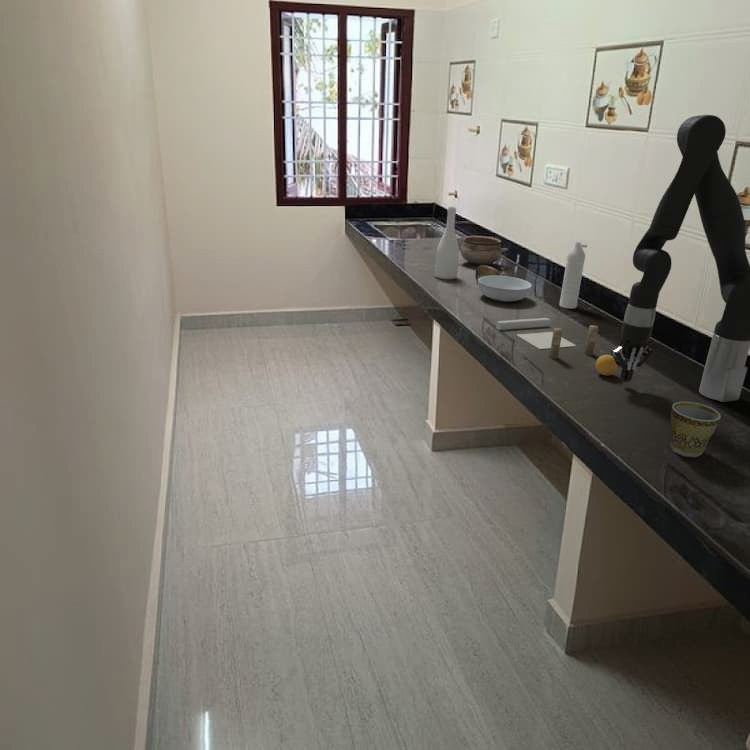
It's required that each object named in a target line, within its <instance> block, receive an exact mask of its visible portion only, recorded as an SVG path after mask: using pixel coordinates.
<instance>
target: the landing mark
mask: <svg viewBox="0 0 750 750" xmlns="http://www.w3.org/2000/svg"><path fill="white" fill-rule="evenodd" d="M516 336H517V337H518V338H520V339H522V340H523V341H524V342H527V343H528V344H530V345H532V346H533V347H535V348H536V349H538V350H548V349H549V350H550V349H551V343H552V337H553V331H545V332H531V333H522V334H521V333H520V334H519V333H518V334H516ZM570 347H577V345H576V344H575V343H573V342H571V341H569V340H567V339H565V338H564V337H561V343H560V349H561V348H570Z"/></svg>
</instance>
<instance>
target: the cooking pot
mask: <svg viewBox="0 0 750 750" xmlns="http://www.w3.org/2000/svg"><path fill="white" fill-rule="evenodd" d="M462 238H463V241H462V244H461V246H459V245H458V247H459V252H460V255H461V256H462V258H463V260H464V261H466V262H468V263H469V264H471V266H473V267H477V268H478V267H479V266H480V265H486V266H490V265H491V264H494V263H495V262H496V261H498V260H499V259H500V256H501V254H503V253H504V252H506V251H508V250H509V249H508V248H507V247H504V248H502V247H501V244H500V243H501V242H502V240H501V239H500V238H496V237H492V236H484V235H467V236H464V237H462Z"/></svg>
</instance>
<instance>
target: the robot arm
mask: <svg viewBox="0 0 750 750" xmlns="http://www.w3.org/2000/svg"><path fill="white" fill-rule="evenodd" d="M726 128H727V127H726V125H725V123H724V121H723V120H722V119H721V118H720V117H719V116H716V115H714V114H713V115H712V114H702V115H695V116H690V117H689V118H687V119H685V120H683V122H682V124H680V126H679V128H678V131H677V132H676V133H677V134H676V143H677V147H678V150H679V152H680V154H681V157H682V159H681V162H680V164H679V167H678V169H677V171H676V173H675V175H674V177H673V179H672V181H671V182H670V183H669V186H668V187H667V188H666V191H665V192H664V194H663V195H662V197H661V199H660V201H659V202H658V205H657V207H656V209H655V212H654V215H653V218H652V220H651V223H650V225H649V228H648V229H647V231H646V232H645V233H644V234H643V236H642V238H641V240H640V241H639V242H638V244H637V245H636V248H635V249H634V251H633V254H632V255H633V256H632V265H633V267H634V269H636V270H637V271H639V272H641V273H643V275H642V278H641V280H640V281H636V282H635V283H633V284H632V287H631V288H630V293H629V297H628V298H629V299H628V302H627V303H628V304H627V306H626V309H625V313H624V316H623V317H624V318H623V323H622V327H621V332H620V336H621V340H620V342H619V344H618V347H617V348H615V349H614V348H612V349H611V350H610V354H611V356H613V358H614V360H615V362H616V364H617V365H618V366H617V367H620V368H621V372H620V380H621V381H622V382H623V383H630V382H631V380H632V379H633V375H634V372H635V371H634V370H636V369H637V368H641V366H643V365H644V363H645V362H646V361H647V360H648V358H649V357H650V356H651V355H652V354H653V353H654V350H653V349H652V348H650V347H649V346H648V345H649V341H650V340H651V335H652V332H653V327H654V323H655V319H656V314H657V313H656V311H657V310H656V309H657V304H658V300H659V297H660V296H659V295H660V292H661V290H662V288H663V286H664V285H665V283H666V281H667V279H668V277H669V275H670V273H671V269H672V257H671V255H670V253H669V252H668V251H666V250H664V249H663V247H664V246H665V244H666V243H667V241H673V240H675V239H676V238H677V237H678V234H679V233H680V230H681V227H682V226H683V224H684V220H685V218H686V216H687V212H688V210H689V207H690V205H691V202H692V201H693V199H694V197H695V201H696V204H697V207H698V212H699V216H700V221H701V224H702V227H703V230H704V231H703V232H704V234H705V236H706V240H707V242H708V245H709V247H710V250H711V254H712V256H713V258H714V261H715V265H716V269H717V275H718V276H717V277H718V282H719V288H720V289H719V290H720V295H721V298H722V300H723V301H724V303H725V305H724V309H723V313H722V316H721V319H720V320H719V321H717V322H716V324H715V326H714V331H713V334H712V338H711V341H710V346H709V349H708V353H707V357H706V361H705V366H704V369H703V373H702V377H701V380H700V381H701V382H700V385H699V390H698V393H700V394H701V395H702V396H704V397H706V398H708V399H711V400H714V401H715V400H716V401H718V402H721V403H725V402H734V401H739V399H740V395H741V393H742V389H743V386H744V382H745V378H746V375H747V371H748V367H747V366H745V365H746V362H747V358H748V356H749V351H750V262H749V259H748V255H747V251H746V237H747V236H746V233H747V231H746V222H745V217H744V213H743V210H742V206H741V202H740V199H739V197H738V194H737V192H736V190H735V188H734V187H733V185H732V183H731V181H730V180H729V178H728V177H727V175H726V174H725V172H724V170H723V168H722V165H721V161H720V159H719V154H718V151H719V150H720V148H721V146H722V145H723V142H724V141H725V138H726V133H727V131H726Z"/></svg>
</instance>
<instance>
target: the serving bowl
mask: <svg viewBox="0 0 750 750" xmlns="http://www.w3.org/2000/svg"><path fill="white" fill-rule="evenodd" d="M477 286H478V290H479V291H480V292H481V294H482V295H484V296H485V297H487V298H489V299H492V300H494V301H498V302H505V303H506V302H507V303H509V302H510V303H511V302H516V301H520V300H523V299H525V298H526V297H527V296H528V295H529V294H530V292H531V290H532V286H533V285H532V283H530V282H529V281H527V280H525V279H522V278H517V277H513V276H508V275H500V276H497V275H492V276H483V277H480V278H479V279H478V283H477Z"/></svg>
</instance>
